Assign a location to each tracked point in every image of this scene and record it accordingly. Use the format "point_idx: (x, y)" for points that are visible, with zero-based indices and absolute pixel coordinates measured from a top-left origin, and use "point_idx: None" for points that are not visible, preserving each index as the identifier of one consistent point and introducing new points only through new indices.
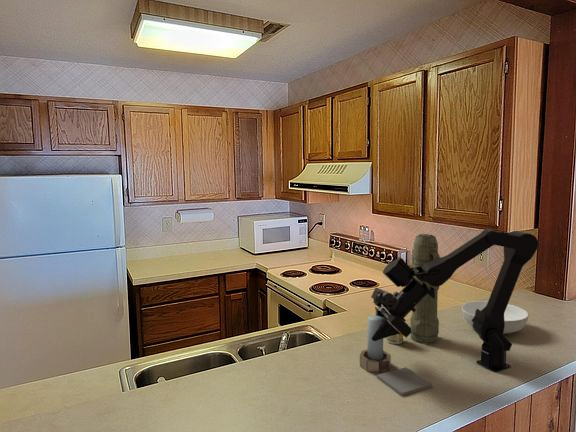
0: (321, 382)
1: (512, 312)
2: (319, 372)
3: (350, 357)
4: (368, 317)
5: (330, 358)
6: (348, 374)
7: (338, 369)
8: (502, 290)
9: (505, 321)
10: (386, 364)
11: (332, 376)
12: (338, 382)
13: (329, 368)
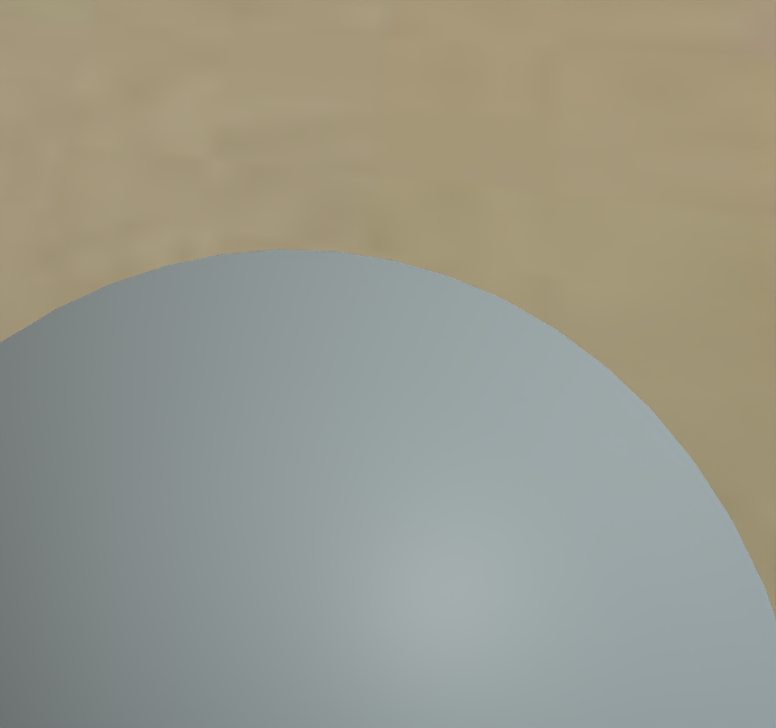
0: (106, 34)
1: None
2: (287, 29)
3: (618, 358)
4: (450, 327)
5: (586, 144)
6: None
7: (330, 195)
8: None
9: None
10: None
11: (196, 128)
12: (77, 167)
13: (358, 116)
